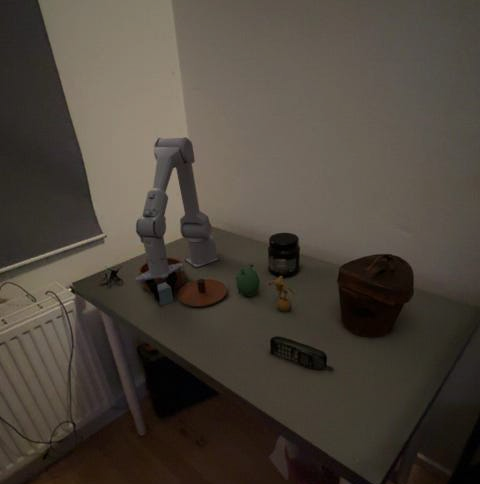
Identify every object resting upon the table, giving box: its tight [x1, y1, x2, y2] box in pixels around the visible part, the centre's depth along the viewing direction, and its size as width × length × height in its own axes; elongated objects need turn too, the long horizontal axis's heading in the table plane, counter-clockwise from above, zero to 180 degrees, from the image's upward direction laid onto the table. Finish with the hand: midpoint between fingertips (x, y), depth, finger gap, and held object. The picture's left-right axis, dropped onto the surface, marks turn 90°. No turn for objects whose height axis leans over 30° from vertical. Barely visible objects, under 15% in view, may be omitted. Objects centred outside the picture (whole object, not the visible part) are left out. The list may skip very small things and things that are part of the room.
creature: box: [100, 265, 124, 287], centre depth 118 cm, size 8×5×8 cm
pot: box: [138, 256, 186, 293], centre depth 116 cm, size 14×20×6 cm
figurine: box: [268, 276, 296, 312], centre depth 95 cm, size 8×6×12 cm
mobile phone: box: [269, 335, 334, 371], centre depth 80 cm, size 5×3×15 cm
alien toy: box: [235, 263, 261, 297], centre depth 105 cm, size 7×8×10 cm
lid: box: [177, 278, 228, 308], centre depth 108 cm, size 15×15×5 cm
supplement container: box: [267, 232, 301, 278], centre depth 115 cm, size 10×10×12 cm
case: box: [336, 253, 415, 338], centre depth 87 cm, size 18×20×18 cm
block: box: [158, 282, 174, 306], centre depth 106 cm, size 4×4×5 cm
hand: (164, 297), depth 107 cm, fingers closed on block, 4 cm apart
